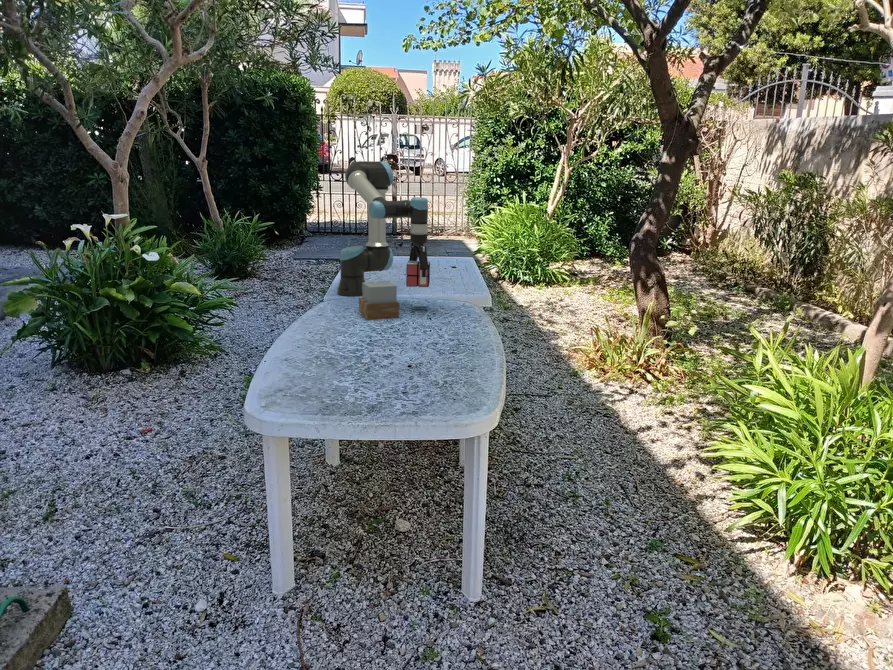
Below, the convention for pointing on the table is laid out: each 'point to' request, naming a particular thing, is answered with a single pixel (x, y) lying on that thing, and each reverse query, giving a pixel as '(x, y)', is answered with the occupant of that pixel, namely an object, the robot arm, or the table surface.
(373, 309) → the walnut block
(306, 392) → the table surface
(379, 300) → the slate block
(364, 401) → the table surface
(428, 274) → the puzzle cube
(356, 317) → the table surface
